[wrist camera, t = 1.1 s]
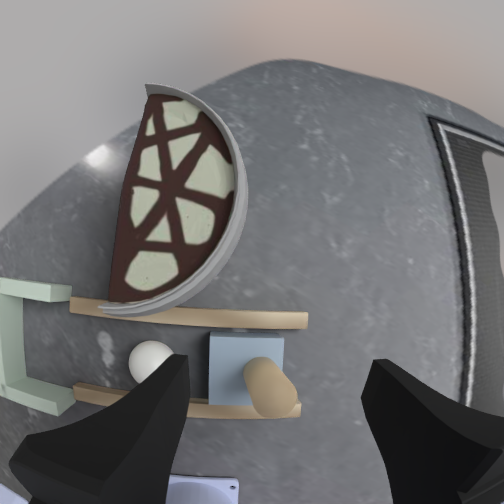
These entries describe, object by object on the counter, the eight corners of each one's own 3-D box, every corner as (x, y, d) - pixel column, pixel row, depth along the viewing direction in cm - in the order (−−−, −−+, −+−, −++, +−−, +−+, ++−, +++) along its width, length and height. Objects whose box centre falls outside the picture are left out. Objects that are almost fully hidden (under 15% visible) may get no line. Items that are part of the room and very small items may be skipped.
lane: (296, 411, 21) (300, 416, 20) (79, 394, 19) (74, 399, 18) (303, 311, 22) (308, 312, 21) (76, 296, 20) (70, 296, 19)
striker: (273, 393, 21) (298, 436, 14) (209, 393, 21) (207, 438, 13) (276, 333, 22) (306, 354, 15) (210, 331, 21) (208, 352, 14)
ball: (180, 382, 21) (174, 398, 17) (136, 377, 20) (123, 392, 17) (180, 338, 21) (174, 348, 18) (135, 334, 21) (122, 342, 17)
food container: (228, 316, 22) (238, 339, 12) (147, 306, 21) (96, 320, 11) (244, 160, 23) (264, 84, 13) (169, 152, 23) (147, 75, 13)
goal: (75, 401, 19) (58, 416, 16) (19, 385, 18) (-2, 395, 15) (71, 285, 20) (50, 285, 17) (14, 278, 20) (-9, 276, 16)
